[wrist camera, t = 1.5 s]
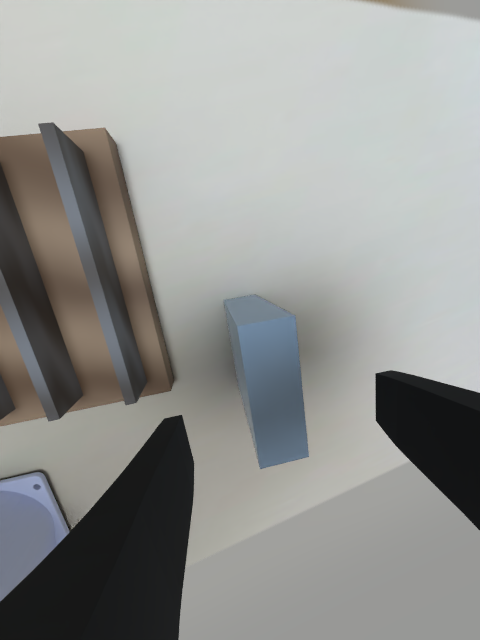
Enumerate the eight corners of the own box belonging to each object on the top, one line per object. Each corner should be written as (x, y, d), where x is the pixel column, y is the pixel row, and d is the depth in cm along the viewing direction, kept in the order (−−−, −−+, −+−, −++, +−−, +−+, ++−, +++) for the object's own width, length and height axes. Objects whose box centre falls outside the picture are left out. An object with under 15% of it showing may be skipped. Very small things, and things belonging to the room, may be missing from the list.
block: (266, 378, 19) (308, 456, 11) (238, 384, 18) (260, 469, 11) (255, 294, 17) (295, 315, 9) (223, 299, 17) (237, 326, 9)
